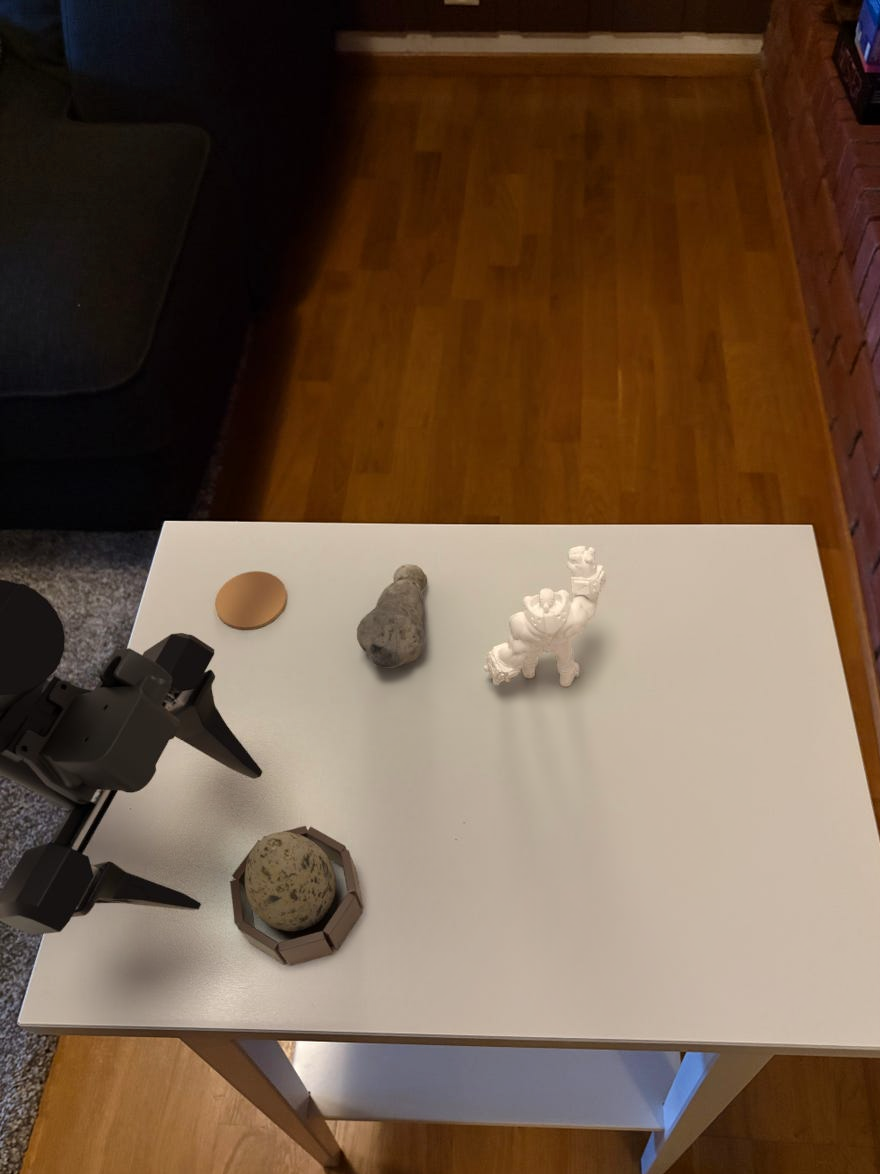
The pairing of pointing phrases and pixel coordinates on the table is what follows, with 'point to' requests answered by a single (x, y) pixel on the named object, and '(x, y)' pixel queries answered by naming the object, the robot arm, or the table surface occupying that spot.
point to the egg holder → (310, 943)
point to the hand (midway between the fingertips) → (229, 838)
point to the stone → (396, 620)
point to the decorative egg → (289, 881)
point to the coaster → (251, 600)
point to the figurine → (550, 623)
